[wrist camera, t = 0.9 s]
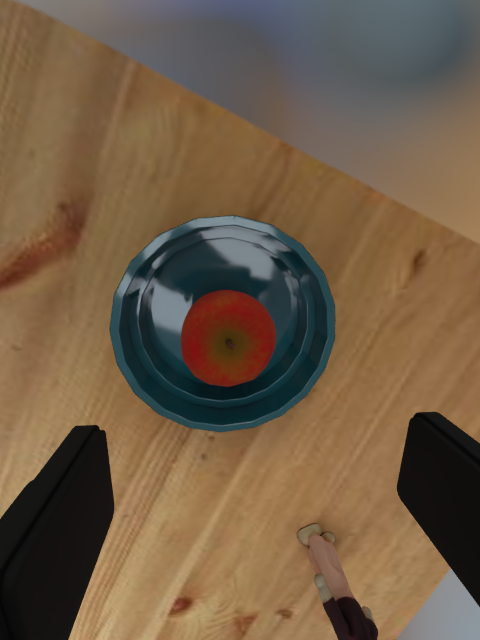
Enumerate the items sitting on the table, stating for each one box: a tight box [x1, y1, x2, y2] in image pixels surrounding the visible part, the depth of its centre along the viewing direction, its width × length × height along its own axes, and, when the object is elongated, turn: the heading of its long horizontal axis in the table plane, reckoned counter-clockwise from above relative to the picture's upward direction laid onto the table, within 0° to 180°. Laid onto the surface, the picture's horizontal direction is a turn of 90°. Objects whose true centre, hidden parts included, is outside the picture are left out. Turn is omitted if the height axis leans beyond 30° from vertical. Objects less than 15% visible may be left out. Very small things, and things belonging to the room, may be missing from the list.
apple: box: [181, 290, 276, 387], centre depth 20 cm, size 6×6×8 cm
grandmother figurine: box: [297, 524, 378, 640], centre depth 26 cm, size 8×4×13 cm, turn 57°
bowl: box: [109, 215, 335, 432], centre depth 22 cm, size 15×15×5 cm
